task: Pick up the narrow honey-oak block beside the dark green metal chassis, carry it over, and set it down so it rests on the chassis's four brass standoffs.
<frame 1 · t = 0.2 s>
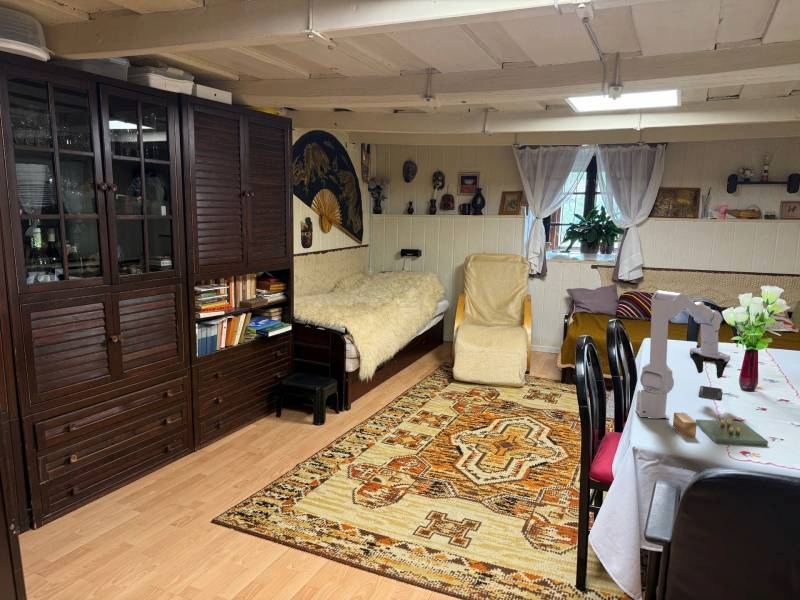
hand: (709, 374, 216), 11 cm above the table, tool pointing down, fingers open, 7 cm apart
oak block: (683, 432, 187), on the table
phone: (710, 395, 228), on the table
chassis: (729, 434, 185), on the table
brown wooden ornament: (705, 358, 286), on the table
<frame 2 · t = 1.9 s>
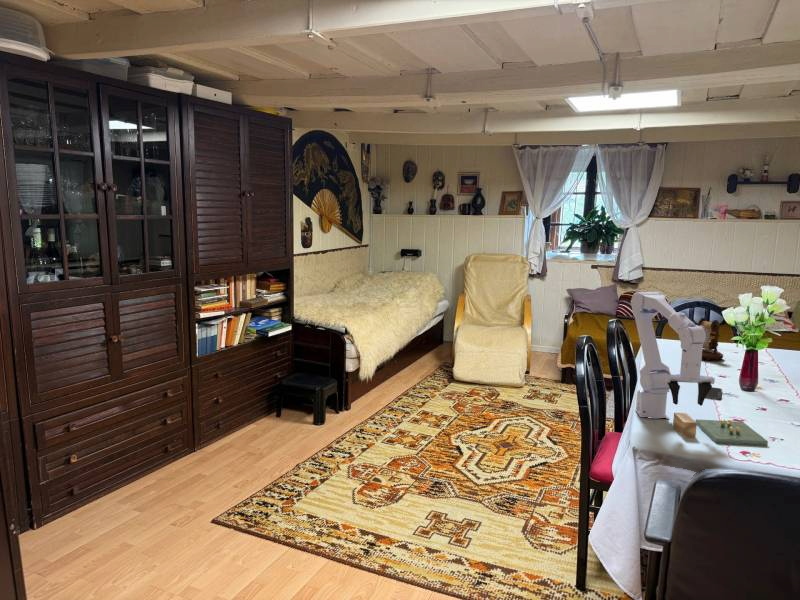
hand: (687, 404, 186), 9 cm above the table, tool pointing down, fingers open, 7 cm apart
nothing on the table moved.
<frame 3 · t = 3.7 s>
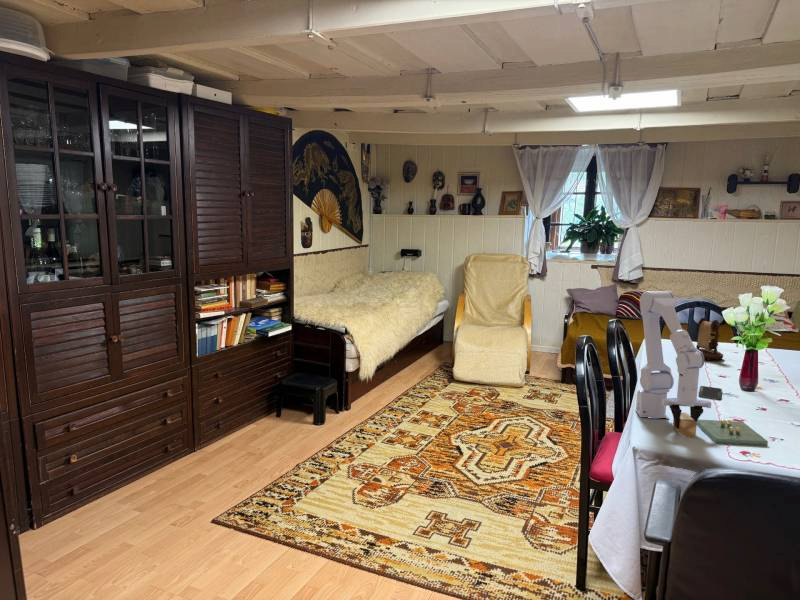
hand: (684, 427, 187), 1 cm above the table, tool pointing down, fingers closed on oak block, 4 cm apart
oak block: (683, 431, 187), on the table, touching gripper
everything else where it was.
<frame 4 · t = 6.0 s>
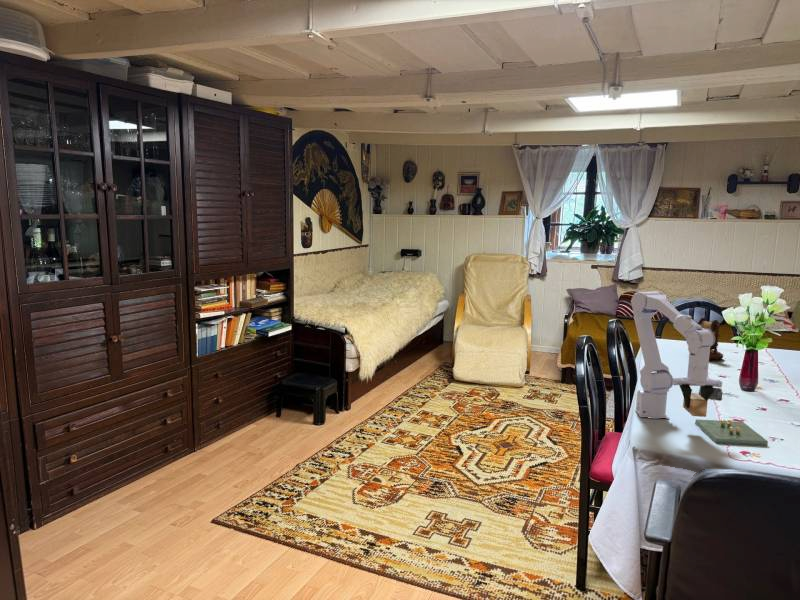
hand: (694, 407, 186), 8 cm above the table, tool pointing down, fingers closed on oak block, 4 cm apart
oak block: (694, 411, 186), point 7 cm above the table, touching gripper
everything else where it was.
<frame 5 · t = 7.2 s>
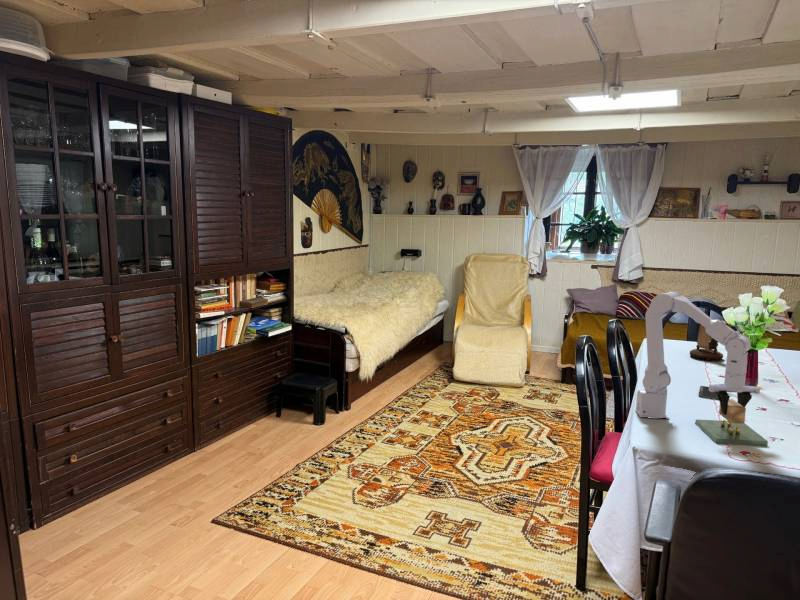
hand: (731, 414, 184), 7 cm above the table, tool pointing down, fingers closed on oak block, 4 cm apart
oak block: (731, 418, 184), point 5 cm above the table, touching gripper
everything else where it was.
when the fingers open (6 cm above the table, at t = 8.2 s): oak block stays where it is, resting on chassis.
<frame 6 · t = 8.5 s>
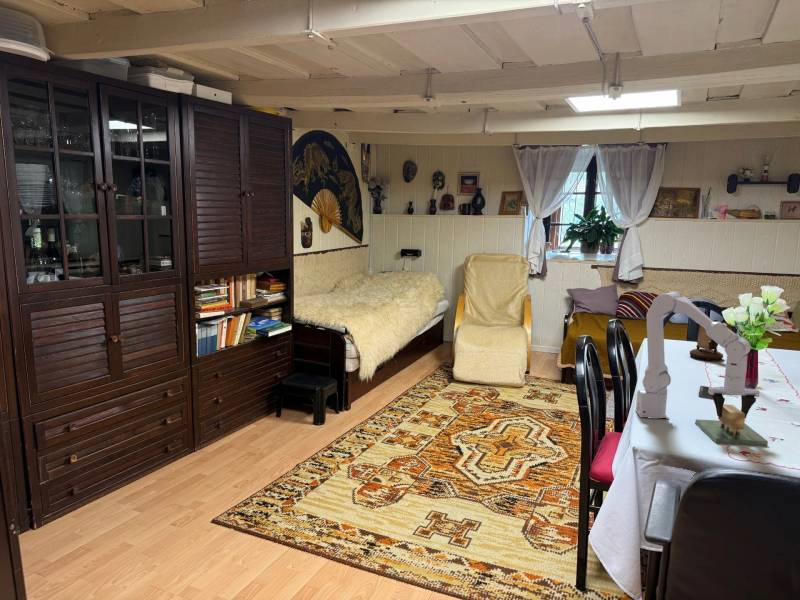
hand: (731, 416, 184), 6 cm above the table, tool pointing down, fingers open, 7 cm apart
oak block: (730, 423, 185), point 3 cm above the table, touching chassis
everything else where it was.
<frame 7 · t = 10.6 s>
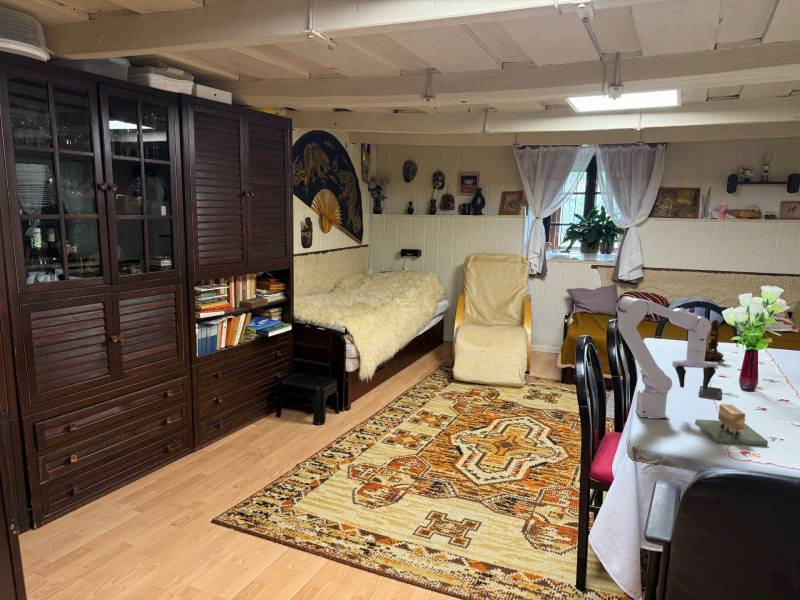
hand: (693, 387, 202), 10 cm above the table, tool pointing down, fingers open, 7 cm apart
nothing on the table moved.
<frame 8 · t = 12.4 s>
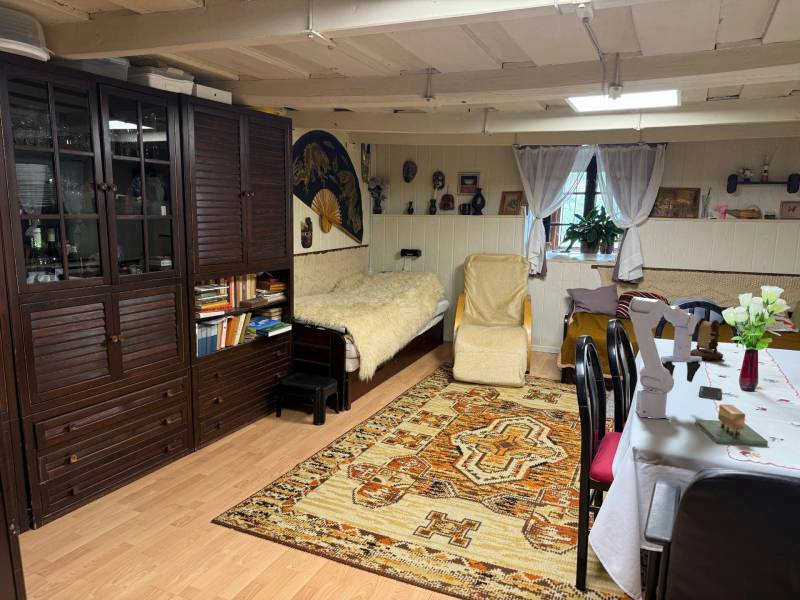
hand: (679, 381, 209), 10 cm above the table, tool pointing down, fingers open, 7 cm apart
nothing on the table moved.
at the end: oak block 0.1 cm off-centre on the chassis, point 3.5 cm above the chassis's base; oak block tilted 0°; the gripper is holding nothing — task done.
